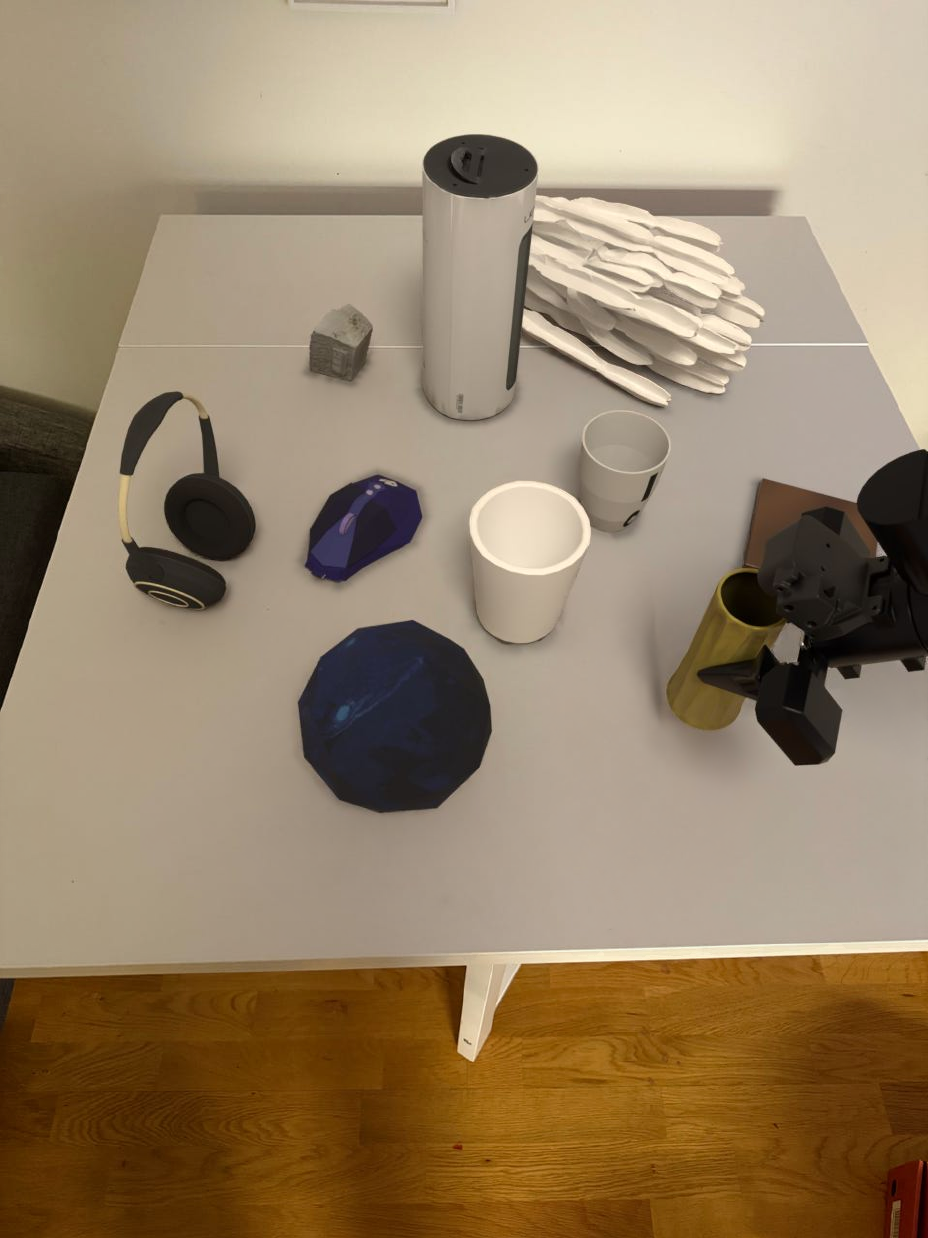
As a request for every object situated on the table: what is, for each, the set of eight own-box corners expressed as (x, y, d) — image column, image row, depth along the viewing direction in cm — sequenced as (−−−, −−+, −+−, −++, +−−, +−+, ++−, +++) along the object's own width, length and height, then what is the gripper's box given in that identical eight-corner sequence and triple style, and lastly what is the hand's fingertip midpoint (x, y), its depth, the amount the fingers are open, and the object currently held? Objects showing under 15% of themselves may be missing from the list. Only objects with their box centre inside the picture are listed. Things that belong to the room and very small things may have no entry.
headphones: (125, 627, 78) (42, 472, 61) (194, 507, 86) (138, 341, 69) (214, 649, 77) (154, 498, 60) (276, 526, 85) (238, 362, 68)
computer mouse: (441, 500, 87) (442, 472, 84) (363, 605, 80) (360, 579, 77) (363, 466, 90) (360, 438, 86) (280, 565, 82) (274, 539, 79)
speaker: (498, 433, 93) (519, 201, 71) (407, 409, 95) (401, 175, 73) (526, 371, 99) (553, 139, 77) (440, 349, 100) (443, 116, 78)
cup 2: (637, 554, 84) (659, 483, 76) (557, 530, 86) (571, 458, 77) (656, 496, 89) (679, 423, 80) (580, 474, 90) (595, 400, 82)
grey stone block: (295, 386, 95) (290, 316, 89) (330, 353, 101) (328, 285, 95) (356, 402, 93) (355, 331, 88) (388, 367, 100) (389, 299, 94)
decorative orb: (247, 810, 63) (361, 747, 53) (282, 637, 71) (385, 554, 61) (405, 858, 70) (532, 810, 60) (420, 696, 79) (533, 630, 69)
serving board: (876, 515, 88) (880, 508, 87) (867, 605, 82) (872, 599, 81) (759, 484, 90) (762, 477, 89) (741, 570, 84) (744, 564, 83)
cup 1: (581, 652, 78) (605, 566, 67) (473, 666, 77) (480, 581, 66) (556, 565, 83) (575, 473, 73) (456, 577, 82) (459, 485, 72)
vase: (687, 741, 69) (739, 645, 57) (652, 678, 72) (693, 575, 60) (754, 718, 70) (818, 619, 58) (716, 657, 73) (769, 552, 61)
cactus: (414, 257, 94) (701, 391, 83) (499, 109, 93) (802, 225, 82) (461, 326, 110) (707, 446, 99) (534, 201, 109) (791, 307, 98)
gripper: (890, 420, 55) (682, 488, 67) (849, 648, 45) (613, 682, 57) (956, 536, 60) (752, 581, 72) (933, 764, 51) (701, 774, 62)
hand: (708, 646), depth 65 cm, fingers closed on vase, 5 cm apart
